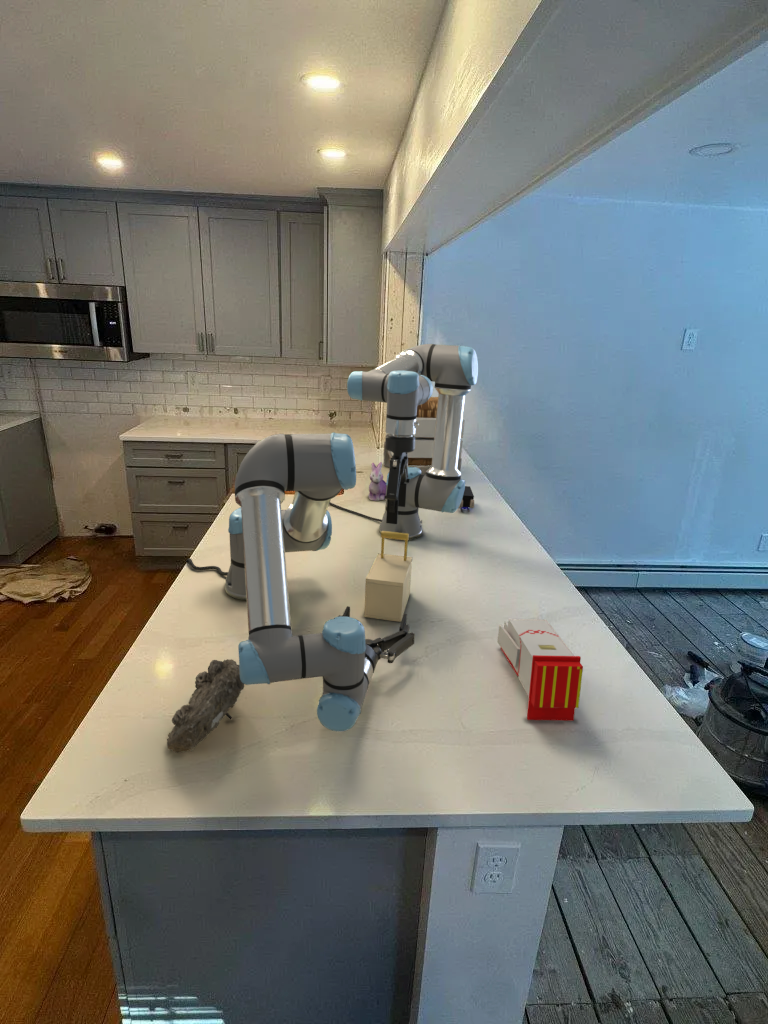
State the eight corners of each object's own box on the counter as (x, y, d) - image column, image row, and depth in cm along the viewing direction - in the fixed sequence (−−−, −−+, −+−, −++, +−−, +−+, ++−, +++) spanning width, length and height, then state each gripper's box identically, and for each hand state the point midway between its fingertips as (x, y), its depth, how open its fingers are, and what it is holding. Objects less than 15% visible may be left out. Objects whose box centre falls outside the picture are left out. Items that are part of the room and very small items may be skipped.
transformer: (382, 463, 289) (386, 382, 275) (445, 464, 293) (451, 384, 279) (390, 482, 257) (394, 392, 243) (460, 483, 261) (468, 394, 247)
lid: (378, 556, 157) (379, 527, 154) (412, 560, 155) (414, 530, 152) (365, 582, 142) (366, 550, 139) (403, 586, 140) (405, 554, 138)
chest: (376, 590, 160) (377, 557, 156) (409, 594, 158) (411, 562, 155) (364, 616, 145) (365, 582, 142) (401, 621, 144) (403, 587, 140)
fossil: (192, 660, 117) (244, 628, 112) (224, 691, 120) (276, 661, 115) (142, 746, 98) (202, 712, 93) (182, 779, 101) (242, 748, 96)
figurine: (373, 502, 230) (374, 466, 225) (362, 495, 239) (363, 460, 234) (393, 500, 234) (395, 464, 229) (382, 492, 243) (383, 458, 238)
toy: (543, 604, 136) (592, 662, 106) (538, 656, 138) (584, 727, 109) (493, 603, 135) (528, 661, 106) (489, 655, 138) (522, 726, 109)
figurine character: (474, 517, 223) (468, 500, 237) (476, 499, 220) (470, 484, 233) (457, 516, 223) (452, 500, 236) (459, 499, 220) (454, 483, 233)
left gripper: (296, 674, 117) (325, 622, 137) (415, 692, 113) (427, 636, 133) (295, 642, 115) (325, 594, 134) (418, 660, 111) (430, 608, 130)
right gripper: (408, 446, 130) (403, 532, 137) (421, 426, 153) (416, 501, 160) (375, 444, 131) (372, 529, 138) (394, 424, 154) (390, 498, 161)
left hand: (376, 615), depth 134 cm, fingers open, 13 cm apart
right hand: (396, 514), depth 149 cm, fingers open, 13 cm apart
